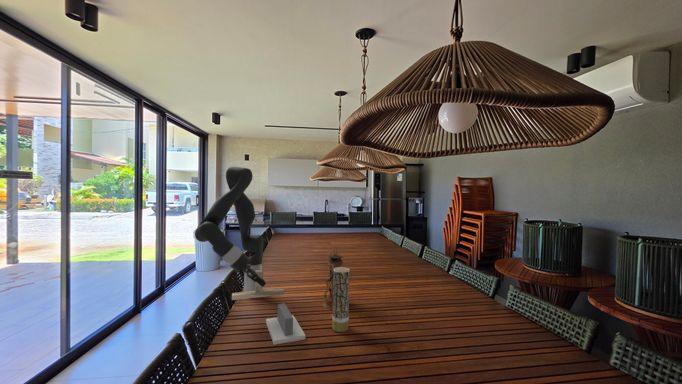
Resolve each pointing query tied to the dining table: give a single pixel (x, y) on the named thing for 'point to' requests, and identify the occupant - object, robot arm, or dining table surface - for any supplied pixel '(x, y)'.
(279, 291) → the birch T-bar
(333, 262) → the lantern
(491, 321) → the dining table surface
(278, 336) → the ridge stand
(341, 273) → the bark print canister
